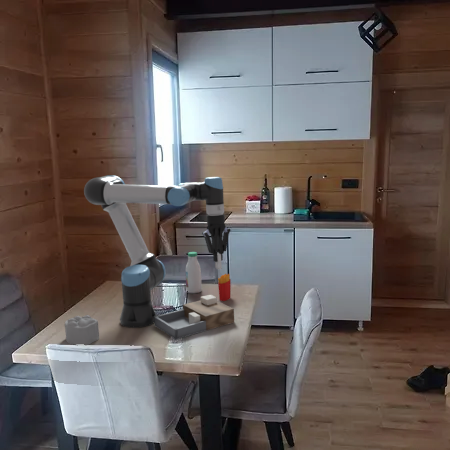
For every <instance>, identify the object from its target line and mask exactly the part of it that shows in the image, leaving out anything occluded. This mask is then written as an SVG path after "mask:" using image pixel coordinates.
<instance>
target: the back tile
mask: <svg viewBox="0 0 450 450" xmlns="http://www.w3.org/2000/svg"><path fill="white" fill-rule="evenodd" d="M217 299H218V298H217V297H216V296H214V295H213V294H207V295H203V296H200V300H201V303H203V304H205V305H211V304H215V303H217V301H218V300H217Z"/></svg>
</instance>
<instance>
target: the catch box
mask: <svg viewBox="0 0 450 450" xmlns="http://www.w3.org/2000/svg"><path fill="white" fill-rule="evenodd" d="M153 324H154V327H156V328H157V329H159V330H160V331H161V332H163V331H164V332H163V333H165V334H166V333H167V335H168V336H170V337H171V338H173V339H174V338H175V339H174V340H179V339H181V338H186V337H188V336H192V334H193V335H195V334H199V333H203V332H206V331H207V330H206V321H205V320H204V321H201V322H197V323H193V324H190V325H189V318H187V317H185V313H184V309H183V308H182V309H178V310H174V311H170V312H168V313H167V312H166V313H163V314H158V315H156V316H154V323H153ZM185 336H186V337H185Z"/></svg>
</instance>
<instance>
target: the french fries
mask: <svg viewBox="0 0 450 450" xmlns="http://www.w3.org/2000/svg"><path fill="white" fill-rule="evenodd" d="M230 275H231V274H230V273H225V274H221V276H220V277H218V278H217V285H218V295H219V297H218V298H219V302H220V301H221V302H225V301H228V300H230V299H231V291H232V290H231V288H232V287H231V285H232V284H231V283H232V282H231V281H232V280H231V278H230V277H231V276H230Z"/></svg>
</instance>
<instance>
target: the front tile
mask: <svg viewBox="0 0 450 450" xmlns="http://www.w3.org/2000/svg"><path fill="white" fill-rule="evenodd" d="M197 322H200V315H198V314H196V313H195V312H192V313H189V325H190V324H193V323H197Z"/></svg>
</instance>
